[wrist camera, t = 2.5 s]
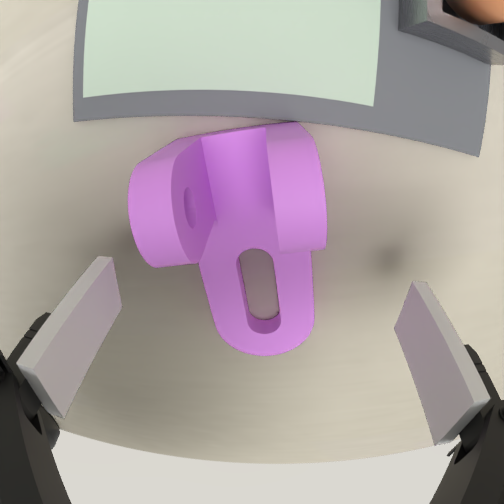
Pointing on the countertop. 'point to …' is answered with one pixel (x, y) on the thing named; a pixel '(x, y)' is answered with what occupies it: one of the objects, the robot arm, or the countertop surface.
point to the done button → (479, 10)
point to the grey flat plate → (277, 66)
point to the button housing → (452, 30)
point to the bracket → (237, 222)
